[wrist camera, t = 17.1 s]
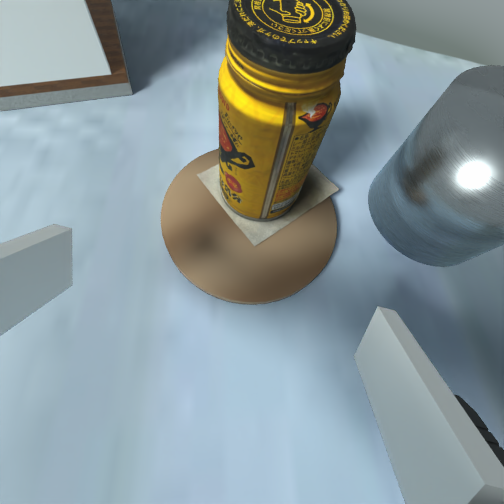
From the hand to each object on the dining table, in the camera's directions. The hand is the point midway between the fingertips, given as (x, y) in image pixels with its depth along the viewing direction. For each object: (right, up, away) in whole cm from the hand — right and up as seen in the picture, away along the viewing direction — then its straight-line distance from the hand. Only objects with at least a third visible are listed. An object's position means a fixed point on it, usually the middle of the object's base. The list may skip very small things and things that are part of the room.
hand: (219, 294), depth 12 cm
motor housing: (+16, +5, +12) cm, 21 cm away
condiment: (+3, +7, +10) cm, 13 cm away
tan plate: (+1, +4, +10) cm, 11 cm away
